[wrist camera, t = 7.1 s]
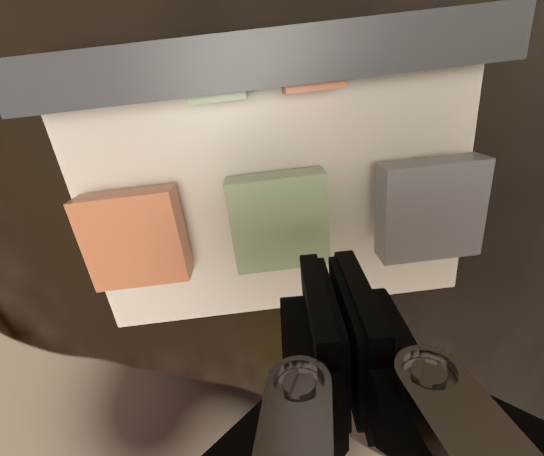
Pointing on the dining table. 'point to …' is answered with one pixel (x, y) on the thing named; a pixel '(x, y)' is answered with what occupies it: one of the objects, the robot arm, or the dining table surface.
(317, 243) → the sage key
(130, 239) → the terracotta key
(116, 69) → the keypad
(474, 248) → the grey key
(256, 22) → the dining table surface
